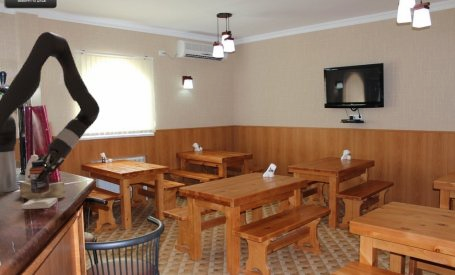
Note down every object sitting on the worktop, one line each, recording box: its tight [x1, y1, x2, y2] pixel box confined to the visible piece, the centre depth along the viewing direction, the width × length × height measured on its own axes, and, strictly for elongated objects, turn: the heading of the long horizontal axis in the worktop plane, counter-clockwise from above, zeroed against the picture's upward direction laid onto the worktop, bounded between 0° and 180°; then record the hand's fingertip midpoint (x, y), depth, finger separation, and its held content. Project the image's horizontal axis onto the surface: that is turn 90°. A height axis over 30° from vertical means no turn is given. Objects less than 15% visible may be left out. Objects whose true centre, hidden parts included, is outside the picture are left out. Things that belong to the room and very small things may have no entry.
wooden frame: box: [19, 180, 66, 200], centre depth 150 cm, size 10×16×6 cm, turn 52°
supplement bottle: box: [29, 160, 50, 193], centre depth 137 cm, size 6×6×11 cm
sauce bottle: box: [24, 150, 39, 181], centre depth 162 cm, size 8×8×18 cm
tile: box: [21, 198, 59, 210], centre depth 137 cm, size 9×9×2 cm
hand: (34, 179), depth 135 cm, fingers closed on supplement bottle, 6 cm apart
